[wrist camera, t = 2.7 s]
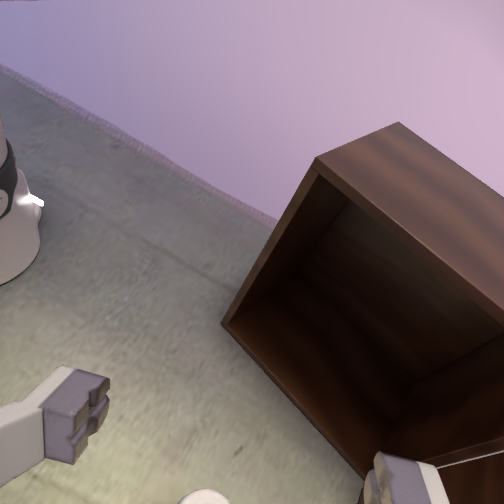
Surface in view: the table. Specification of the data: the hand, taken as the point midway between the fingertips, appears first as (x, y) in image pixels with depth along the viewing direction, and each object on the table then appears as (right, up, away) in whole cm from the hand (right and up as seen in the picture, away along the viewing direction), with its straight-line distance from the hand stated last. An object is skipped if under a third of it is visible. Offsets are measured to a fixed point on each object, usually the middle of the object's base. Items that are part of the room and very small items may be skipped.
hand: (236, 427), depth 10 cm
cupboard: (+11, -10, +40) cm, 42 cm away
